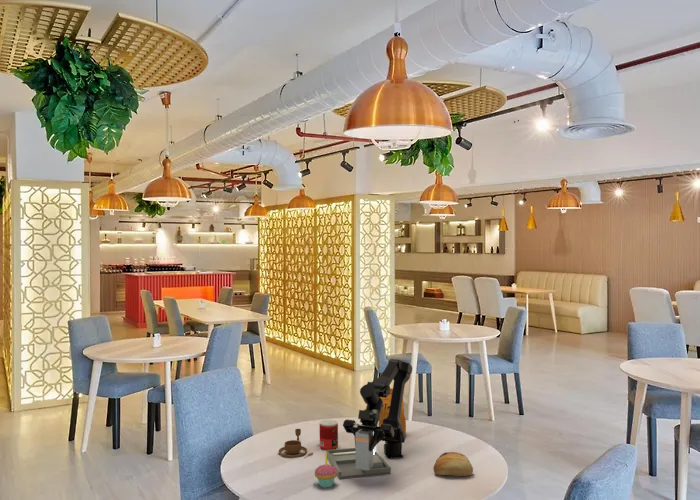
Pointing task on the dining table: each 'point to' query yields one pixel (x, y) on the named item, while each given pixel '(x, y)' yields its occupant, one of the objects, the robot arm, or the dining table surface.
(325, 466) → the cupcake
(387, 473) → the case
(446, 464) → the bread roll
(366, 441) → the block
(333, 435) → the canned food
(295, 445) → the place setting
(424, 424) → the dining table surface
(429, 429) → the dining table surface
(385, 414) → the coffee package
